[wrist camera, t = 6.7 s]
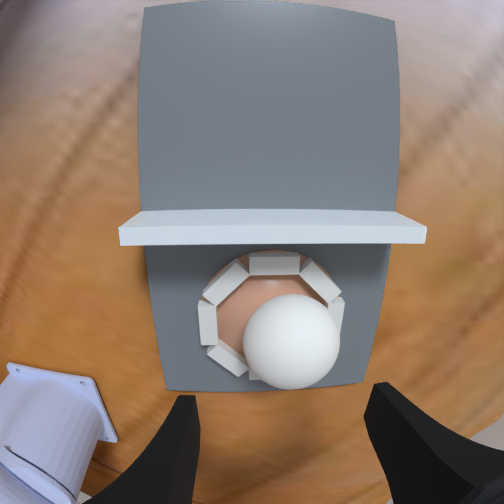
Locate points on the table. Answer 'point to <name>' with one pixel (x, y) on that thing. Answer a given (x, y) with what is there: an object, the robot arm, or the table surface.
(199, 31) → the board
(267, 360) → the ball
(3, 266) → the table surface
